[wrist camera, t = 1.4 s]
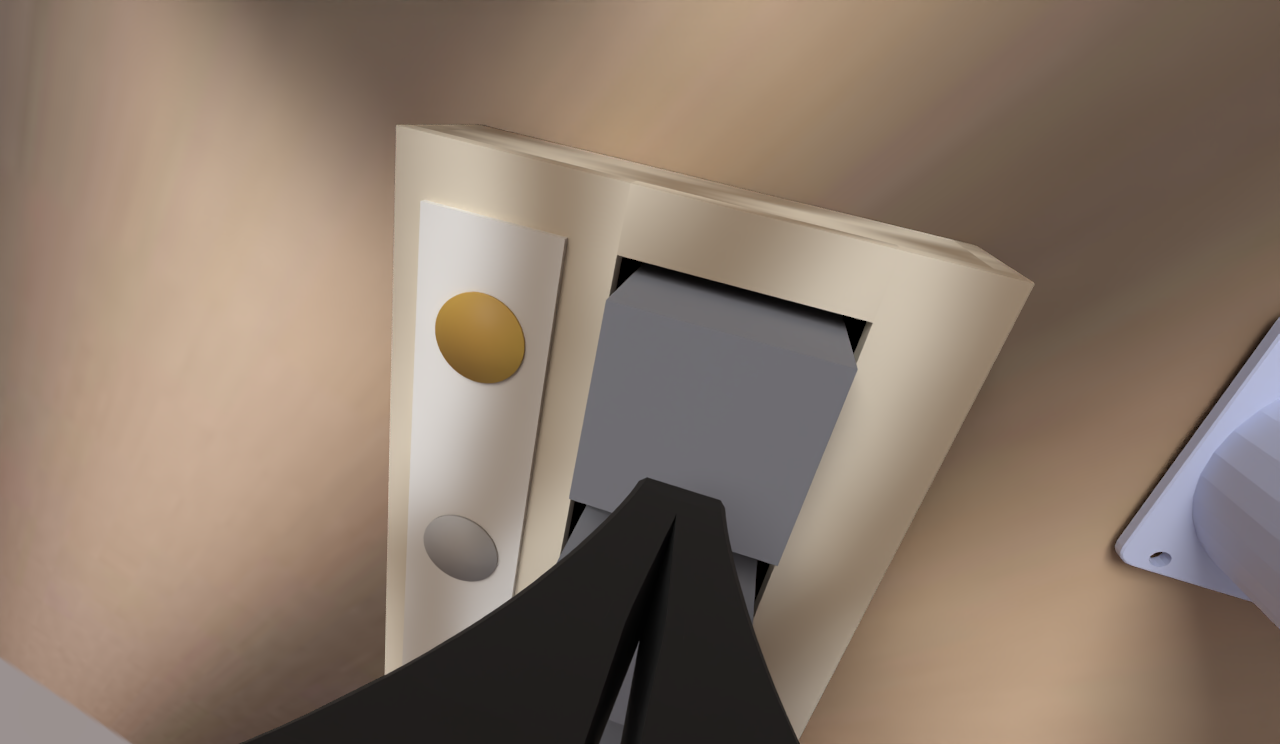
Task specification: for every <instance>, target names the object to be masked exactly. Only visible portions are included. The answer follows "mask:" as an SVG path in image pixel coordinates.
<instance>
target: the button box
mask: <svg viewBox="0 0 1280 744" xmlns="http://www.w3.org/2000/svg"><path fill="white" fill-rule="evenodd" d="M622 256H623V257H626V258H630V259H634V260H638V261H642V262H645V263H649V264H653V265H657V266H660V267H664V268H668V269H672V270H676V271H679V272H683V273H687V274H691V275H694V276H698V277H702V278H706V279H709V280H713V281H717V282H721V283H725V284H728V285H732V286H736V287H740V288H743V289H747V290H751V291H755V292H759V293H762V294H766V295H770V296H774V297H777V298H781V299H785V300H789V301H793V302H796V303H800V304H804V305H808V306H811V307H815V308H819V309H823V310H826V311H830V312H834V313H838V314H842V315H845V316H849V317H853V318H857V319H860V320H864V321H867V322H866V325H865V327H864V330H863V332H862V335H861V337H860V340H859V342H858V345H857V347H856V350H855V352H854V358H855V361H856V365H857V368H858V370H857V373H856V375H855V378H854V380H853V383H852V385H851V387H850V390H849V392H848V395H847V397H846V400H845V402H844V405H843V407H842V410H841V412H840V414H839V417H838V419H837V422H836V424H835V427H834V429H833V432H832V434H831V437H830V439H829V441H828V444H827V446H826V449H825V451H824V454H823V456H822V459H821V461H820V464H819V466H818V468H817V471H816V473H815V476H814V478H813V481H812V483H811V486H810V488H809V491H808V493H807V495H806V498H805V500H804V503H803V505H802V508H801V510H800V513H799V515H798V518H797V520H796V522H795V525H794V527H793V530H792V532H791V535H790V537H789V540H788V542H787V545H786V547H785V550H784V552H783V554H782V557H781V559H780V562H779V564H778V566H776V565H773V564H770V565H769V568H768V570H767V573H766V575H765V578H764V580H763V583H762V585H761V588H760V590H759V593H758V595H757V598H756V600H755V603H754V614H753V628H754V631H755V634H756V637H757V640H758V642H759V645H760V648H761V651H762V653H763V656H764V659H765V662H766V664H767V667H768V670H769V672H770V675H771V677H772V680H773V683H774V685H775V688H776V690H777V693H778V695H779V697H780V700H781V702H782V705H783V707H784V709H785V711H786V714H787V716H788V718H789V720H790V723H791V725H792V727H793V729H794V732H795V734H796V736H797V738H798V741H799V739H800V737H801V735H802V733H803V731H804V729H805V727H806V725H807V723H808V721H809V719H810V717H811V715H812V713H813V712H814V710H815V708H816V706H817V704H818V702H819V700H820V698H821V696H822V694H823V692H824V690H825V688H826V686H827V684H828V683H829V681H830V679H831V677H832V675H833V673H834V671H835V669H836V667H837V665H838V663H839V661H840V659H841V657H842V655H843V654H844V652H845V650H846V648H847V646H848V644H849V642H850V640H851V638H852V636H853V634H854V632H855V630H856V628H857V626H858V625H859V623H860V621H861V619H862V617H863V615H864V613H865V611H866V609H867V607H868V605H869V603H870V601H871V599H872V597H873V596H874V594H875V592H876V590H877V588H878V586H879V584H880V582H881V580H882V578H883V576H884V574H885V572H886V570H887V568H888V566H889V565H890V563H891V561H892V559H893V557H894V555H895V553H896V551H897V549H898V547H899V545H900V543H901V541H902V539H903V537H904V536H905V534H906V532H907V530H908V528H909V526H910V524H911V522H912V520H913V518H914V516H915V514H916V512H917V510H918V508H919V507H920V505H921V503H922V501H923V499H924V497H925V495H926V493H927V491H928V489H929V487H930V485H931V483H932V481H933V479H934V478H935V476H936V474H937V472H938V470H939V468H940V466H941V464H942V462H943V460H944V458H945V456H946V454H947V452H948V450H949V449H950V447H951V445H952V443H953V441H954V439H955V437H956V435H957V433H958V431H959V429H960V427H961V425H962V423H963V421H964V420H965V418H966V416H967V414H968V412H969V410H970V408H971V406H972V404H973V402H974V400H975V398H976V396H977V394H978V392H979V391H980V389H981V387H982V385H983V383H984V381H985V379H986V377H987V375H988V373H989V371H990V369H991V367H992V365H993V363H994V361H995V360H996V358H997V356H998V354H999V352H1000V350H1001V348H1002V346H1003V344H1004V342H1005V340H1006V338H1007V336H1008V334H1009V332H1010V331H1011V329H1012V327H1013V325H1014V323H1015V321H1016V319H1017V317H1018V315H1019V313H1020V311H1021V309H1022V307H1023V305H1024V303H1025V302H1026V300H1027V298H1028V296H1029V294H1030V292H1031V290H1032V288H1033V286H1034V284H1035V283H1033V282H1032V281H1030V280H1029V279H1027V278H1026V277H1024V276H1023V275H1021V274H1019V273H1018V272H1016V271H1015V270H1013V269H1012V268H1010V267H1009V266H1007V265H1005V264H1004V263H1002V262H1001V261H999V260H998V259H996V258H995V257H993V256H992V255H990V254H988V253H987V252H985V251H984V250H982V249H981V248H979V247H978V246H976V245H972V244H968V243H964V242H960V241H956V240H952V239H947V238H943V237H939V236H935V235H931V234H927V233H923V232H919V231H915V230H910V229H906V228H902V227H898V226H894V225H890V224H886V223H882V222H878V221H873V220H869V219H865V218H861V217H857V216H853V215H849V214H845V213H841V212H837V211H832V210H828V209H824V208H820V207H816V206H812V205H808V204H804V203H800V202H795V201H791V200H787V199H783V198H779V197H775V196H771V195H767V194H763V193H758V192H754V191H750V190H746V189H742V188H738V187H734V186H730V185H726V184H721V183H717V182H713V181H709V180H705V179H701V178H697V177H693V176H689V175H685V174H680V173H676V172H672V171H668V170H664V169H660V168H656V167H652V166H648V165H643V164H639V163H635V162H631V161H627V160H623V159H619V158H615V157H611V156H606V155H602V154H598V153H594V152H590V151H586V150H582V149H578V148H574V147H570V146H565V145H561V144H557V143H553V142H549V141H545V140H541V139H537V138H533V137H528V136H524V135H520V134H516V133H512V132H508V131H504V130H500V129H496V128H491V127H487V126H483V125H396V152H395V201H394V250H393V299H392V348H391V397H390V446H389V495H388V544H387V593H386V642H385V675H386V674H388V673H390V672H392V671H394V670H395V669H397V668H399V667H401V666H403V665H405V664H406V663H408V662H410V661H412V660H414V659H415V658H417V657H419V656H421V655H422V654H424V653H426V652H428V651H429V650H431V649H433V648H434V647H436V646H438V645H439V644H441V643H443V642H444V641H446V640H448V639H449V638H451V637H452V636H454V635H456V634H457V633H459V632H461V631H462V630H464V629H466V628H467V627H469V626H471V625H472V624H474V623H475V622H477V621H478V620H480V619H481V618H483V617H484V616H486V615H487V614H489V613H490V612H492V611H493V610H495V609H496V608H498V607H499V606H501V605H502V604H504V603H505V602H507V601H508V600H509V599H511V598H512V597H514V596H515V595H516V594H518V593H519V592H520V591H522V590H523V589H525V588H526V587H527V586H529V585H530V584H531V583H533V582H534V581H535V580H536V579H538V578H539V577H540V576H541V575H543V574H544V573H545V572H546V571H548V570H549V569H550V568H551V567H553V566H554V565H555V564H556V563H557V561H558V559H559V557H560V555H561V553H562V551H563V549H564V547H565V546H566V544H567V539H568V534H569V529H570V524H571V519H572V513H573V508H574V503H575V501H574V500H571V499H569V495H570V489H571V484H572V479H573V473H574V468H575V463H576V457H577V452H578V447H579V441H580V436H581V431H582V426H583V420H584V415H585V410H586V404H587V399H588V394H589V388H590V383H591V378H592V372H593V367H594V362H595V356H596V351H597V346H598V340H599V335H600V330H601V324H602V319H603V314H604V308H605V303H606V300H607V299H608V298H609V297H610V296H611V295H612V294H613V293H614V292H615V291H616V287H617V281H618V276H619V271H620V266H621V261H622Z"/></svg>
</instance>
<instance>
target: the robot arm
mask: <svg viewBox="0 0 1280 744" xmlns="http://www.w3.org/2000/svg"><path fill="white" fill-rule="evenodd" d="M1115 550H1116V552H1117V554H1118V555H1119V556H1120V558H1121V559H1122V560H1123V561H1124V562H1125V563H1127V564H1129V565H1131V566H1134V567H1137V568H1140V569H1144V570H1147V571H1150V572H1154V573H1157V574H1160V575H1164V576H1167V577H1171V578H1174V579H1177V580H1181V581H1184V582H1187V583H1191V584H1194V585H1197V586H1201V587H1204V588H1207V589H1211V590H1214V591H1217V592H1221V593H1224V594H1227V595H1231V596H1234V597H1237V598H1241V599H1244V600H1247V601H1251V602H1253V603H1254V604H1255V605H1256V606H1257V607H1258V608H1259V609H1260V610H1261V611H1262V612H1263V613H1264V614H1265V615H1266V616H1267V617H1268V618H1269V619H1270V620H1271V621H1272V622H1273V623H1274V624H1275V625H1276V626H1277V627H1278V628H1279V629H1280V317H1279V318H1278V319H1277V321H1276V322H1275V323H1274V325H1273V326H1272V327H1271V329H1270V330H1269V332H1268V333H1267V334H1266V336H1265V337H1264V338H1263V340H1262V341H1261V343H1260V344H1259V345H1258V347H1257V348H1256V349H1255V351H1254V352H1253V354H1252V355H1251V356H1250V358H1249V359H1248V361H1247V362H1246V363H1245V365H1244V366H1243V367H1242V369H1241V370H1240V372H1239V373H1238V374H1237V376H1236V377H1235V378H1234V380H1233V381H1232V383H1231V384H1230V385H1229V387H1228V388H1227V390H1226V391H1225V392H1224V394H1223V395H1222V396H1221V398H1220V399H1219V401H1218V402H1217V403H1216V405H1215V406H1214V407H1213V409H1212V410H1211V412H1210V413H1209V414H1208V416H1207V417H1206V418H1205V420H1204V421H1203V423H1202V424H1201V425H1200V427H1199V428H1198V430H1197V431H1196V432H1195V434H1194V435H1193V436H1192V438H1191V439H1190V441H1189V442H1188V443H1187V445H1186V446H1185V447H1184V449H1183V450H1182V452H1181V453H1180V454H1179V456H1178V457H1177V458H1176V460H1175V461H1174V463H1173V464H1172V465H1171V467H1170V468H1169V470H1168V471H1167V472H1166V474H1165V475H1164V476H1163V478H1162V479H1161V481H1160V482H1159V483H1158V485H1157V486H1156V487H1155V489H1154V490H1153V492H1152V493H1151V494H1150V496H1149V497H1148V499H1147V500H1146V501H1145V503H1144V504H1143V505H1142V507H1141V508H1140V510H1139V511H1138V512H1137V514H1136V515H1135V516H1134V518H1133V519H1132V521H1131V522H1130V523H1129V525H1128V526H1127V527H1126V529H1125V530H1124V532H1123V533H1122V534H1121V536H1120V537H1119V539H1118V540H1117V542H1116V544H1115ZM1157 552H1162V554H1160V555H1159V556H1157V557H1153V558H1151V557H1150V556H1151V555H1153V554H1154V553H1157ZM638 643H639V646H638ZM637 646H638V651H637V656H636V662H635V667H634V673H633V678H632V683H631V689H630V694H629V700H628V705H627V711H626V716H625V722H624V727H623V732H622V738H621V743H620V744H800V743H799V741H798V738H797V736H796V734H795V732H794V729H793V727H792V725H791V723H790V720H789V718H788V716H787V714H786V711H785V709H784V707H783V705H782V702H781V700H780V697H779V695H778V693H777V690H776V688H775V685H774V683H773V680H772V677H771V675H770V672H769V670H768V667H767V664H766V662H765V659H764V656H763V653H762V651H761V648H760V645H759V642H758V640H757V637H756V634H755V631H754V628H753V625H752V622H751V619H750V616H749V613H748V609H747V606H746V602H745V599H744V595H743V592H742V589H741V585H740V582H739V578H738V574H737V571H736V567H735V563H734V558H733V554H732V549H731V545H730V540H729V534H728V528H727V521H726V512H725V507H724V505H723V503H722V502H721V500H719V499H715V498H712V497H709V496H706V495H702V494H699V493H696V492H693V491H690V490H686V489H683V488H680V487H677V486H674V485H670V484H667V483H664V482H661V481H658V480H654V479H651V478H648V477H647V478H644V479H642V480H640V481H638V483H637V484H636V486H635V487H634V489H633V490H632V491H631V492H630V494H629V495H628V496H627V497H626V498H625V499H624V501H623V502H622V503H621V504H620V505H619V506H618V507H617V508H616V509H615V510H614V511H613V512H612V513H611V514H610V515H609V517H608V518H607V519H606V520H605V521H604V522H603V523H601V524H600V525H599V526H598V527H597V528H596V529H595V530H594V531H593V532H592V533H591V534H590V535H589V536H587V537H586V538H585V539H584V540H583V541H582V542H581V543H580V544H579V545H578V546H577V547H576V548H574V549H573V550H572V551H571V552H570V553H569V554H567V555H566V556H565V557H564V558H562V559H561V560H560V561H559V562H557V563H556V564H555V565H554V566H553V567H551V568H550V569H549V570H548V571H546V572H545V573H544V574H543V575H541V576H540V577H539V578H538V579H536V580H535V581H534V582H533V583H531V584H530V585H529V586H527V587H526V588H525V589H523V590H522V591H520V592H519V593H518V594H516V595H515V596H514V597H512V598H511V599H509V600H508V601H507V602H505V603H504V604H502V605H501V606H499V607H498V608H496V609H495V610H493V611H492V612H490V613H489V614H487V615H486V616H484V617H483V618H481V619H480V620H478V621H477V622H475V623H474V624H472V625H471V626H469V627H467V628H466V629H464V630H462V631H461V632H459V633H457V634H456V635H454V636H452V637H451V638H449V639H448V640H446V641H444V642H443V643H441V644H439V645H438V646H436V647H434V648H433V649H431V650H429V651H428V652H426V653H424V654H422V655H421V656H419V657H417V658H415V659H414V660H412V661H410V662H408V663H406V664H405V665H403V666H401V667H399V668H397V669H395V670H394V671H392V672H390V673H388V674H386V675H384V676H382V677H380V678H378V679H376V680H374V681H372V682H370V683H368V684H366V685H364V686H362V687H360V688H358V689H356V690H354V691H352V692H350V693H348V694H346V695H344V696H342V697H340V698H338V699H336V700H334V701H332V702H330V703H328V704H326V705H324V706H322V707H320V708H318V709H316V710H314V711H312V712H310V713H308V714H306V715H304V716H301V717H299V718H297V719H295V720H293V721H291V722H288V723H286V724H284V725H282V726H280V727H277V728H275V729H273V730H270V731H268V732H266V733H263V734H261V735H258V736H256V737H254V738H251V739H249V740H247V741H244V742H242V743H240V744H599V743H600V740H601V738H602V735H603V732H604V730H605V727H606V725H607V722H608V720H609V717H610V715H611V712H612V710H613V707H614V704H615V702H616V699H617V697H618V694H619V692H620V689H621V687H622V684H623V681H624V679H625V676H626V674H627V671H628V669H629V666H630V664H631V661H632V658H633V656H634V653H635V651H636V648H637Z"/></svg>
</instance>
